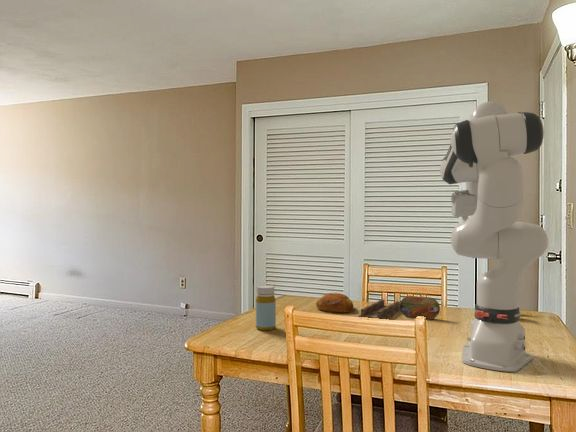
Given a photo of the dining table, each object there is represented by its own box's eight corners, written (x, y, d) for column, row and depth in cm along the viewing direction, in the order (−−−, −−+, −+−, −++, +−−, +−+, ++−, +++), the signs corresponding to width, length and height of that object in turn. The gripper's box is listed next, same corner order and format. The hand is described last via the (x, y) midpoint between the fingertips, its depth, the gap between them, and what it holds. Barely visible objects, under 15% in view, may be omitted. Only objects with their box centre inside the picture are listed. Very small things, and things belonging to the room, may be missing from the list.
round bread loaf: (344, 320, 186) (347, 301, 185) (310, 310, 194) (312, 291, 193) (359, 312, 198) (361, 294, 197) (326, 303, 206) (328, 285, 205)
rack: (382, 321, 175) (382, 312, 175) (358, 318, 180) (358, 309, 180) (402, 310, 194) (402, 301, 193) (379, 307, 199) (379, 299, 199)
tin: (399, 316, 183) (399, 295, 182) (401, 314, 186) (401, 293, 185) (439, 321, 176) (439, 298, 175) (440, 319, 179) (440, 297, 178)
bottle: (273, 331, 162) (272, 288, 161) (253, 330, 163) (253, 287, 163) (277, 326, 169) (277, 285, 168) (258, 325, 170) (258, 284, 170)
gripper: (454, 192, 163) (457, 230, 165) (510, 185, 165) (513, 224, 166) (447, 191, 170) (449, 228, 171) (501, 185, 171) (503, 222, 172)
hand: (481, 226), depth 169 cm, fingers open, 8 cm apart
